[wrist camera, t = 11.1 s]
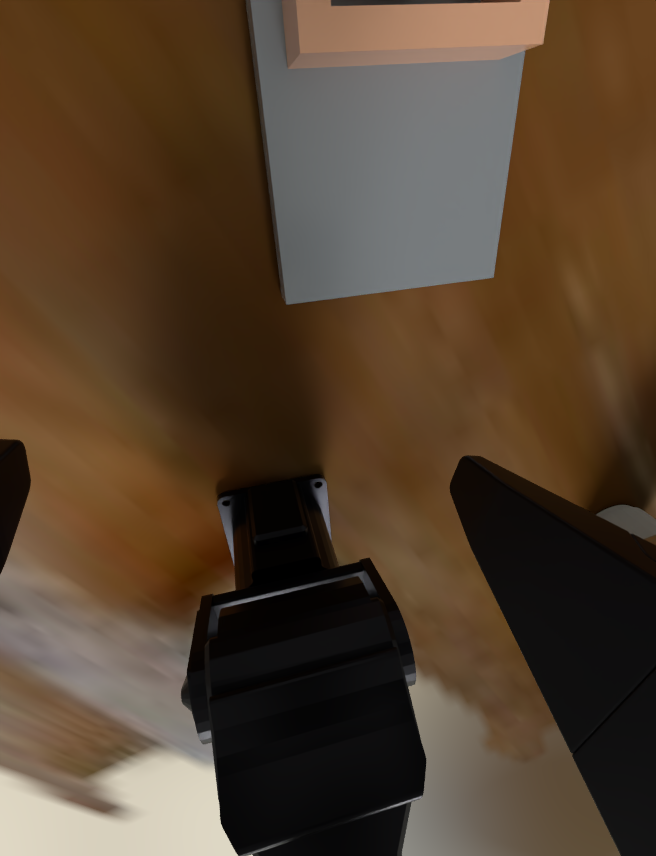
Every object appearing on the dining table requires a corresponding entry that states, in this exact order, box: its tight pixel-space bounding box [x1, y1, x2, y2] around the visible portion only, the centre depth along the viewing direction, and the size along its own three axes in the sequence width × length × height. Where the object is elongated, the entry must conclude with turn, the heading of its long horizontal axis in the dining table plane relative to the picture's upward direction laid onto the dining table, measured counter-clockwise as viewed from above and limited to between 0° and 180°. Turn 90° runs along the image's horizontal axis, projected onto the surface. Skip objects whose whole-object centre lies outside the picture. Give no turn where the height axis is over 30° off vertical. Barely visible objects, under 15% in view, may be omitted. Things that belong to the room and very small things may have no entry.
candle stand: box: [246, 0, 550, 305], centre depth 15 cm, size 16×10×4 cm, turn 4°
